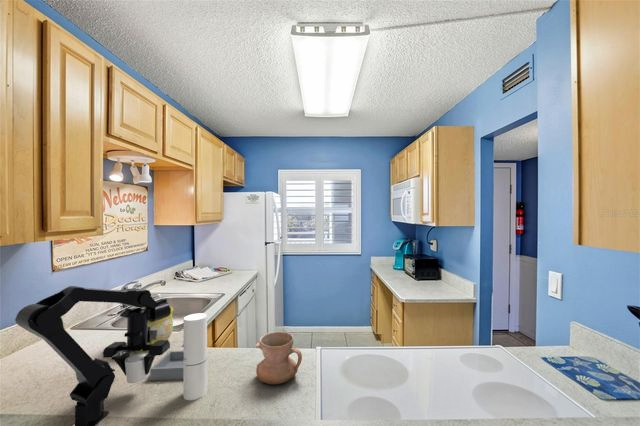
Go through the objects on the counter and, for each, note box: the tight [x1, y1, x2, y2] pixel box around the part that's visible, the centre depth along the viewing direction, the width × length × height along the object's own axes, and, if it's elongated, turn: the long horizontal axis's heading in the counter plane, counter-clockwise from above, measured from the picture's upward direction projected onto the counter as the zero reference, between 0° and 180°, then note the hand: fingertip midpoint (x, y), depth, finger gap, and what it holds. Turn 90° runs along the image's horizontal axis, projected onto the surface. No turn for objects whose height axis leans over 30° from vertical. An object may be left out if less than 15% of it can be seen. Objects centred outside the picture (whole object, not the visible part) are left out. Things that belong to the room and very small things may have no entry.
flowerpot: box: [134, 305, 174, 354], centre depth 126 cm, size 18×18×16 cm
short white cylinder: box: [125, 353, 148, 384], centre depth 91 cm, size 7×7×7 cm
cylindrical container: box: [182, 312, 208, 401], centre depth 91 cm, size 7×7×25 cm
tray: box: [149, 350, 184, 381], centre depth 106 cm, size 14×14×4 cm
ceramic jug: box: [254, 331, 303, 385], centre depth 100 cm, size 18×14×14 cm
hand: (137, 374), depth 91 cm, fingers closed on short white cylinder, 6 cm apart
